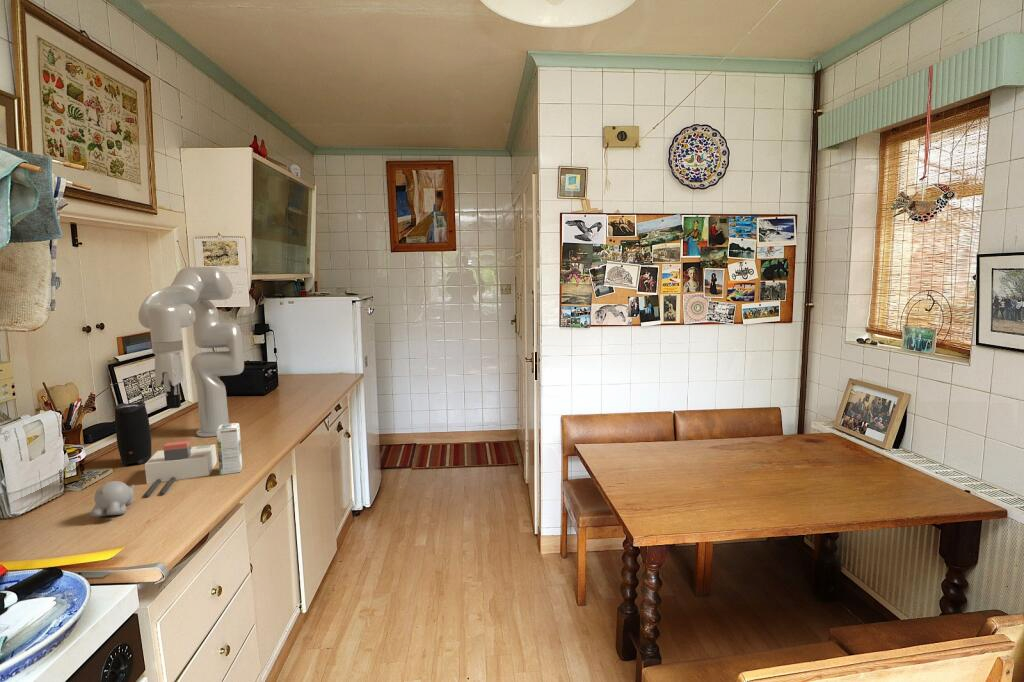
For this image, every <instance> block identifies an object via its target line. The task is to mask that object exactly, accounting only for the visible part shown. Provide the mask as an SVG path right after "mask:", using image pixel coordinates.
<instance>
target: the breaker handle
mask: <svg viewBox="0 0 1024 682" xmlns="http://www.w3.org/2000/svg"><path fill="white" fill-rule="evenodd" d="M190 442H191V441H190V440H180V441H173V442H166V443H165V444H164V445H163V447H162V448H163V450H164V457H165V460H173V459H181V458H188V457H189V456H190V455H191V451H190V447H191V445H190Z"/></svg>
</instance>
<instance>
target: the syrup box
mask: <svg viewBox="0 0 1024 682" xmlns="http://www.w3.org/2000/svg"><path fill="white" fill-rule="evenodd" d="M216 441H217V442H216V443H217V455H218V467H219V475H220V476H223V475H231V474H235V473H241V471H242V468H243V457H242V443H241V441H242V439H241V428H240V423H238V422H237V423H236V422H233V423H232V422H231V423H230V422H229V424H223V425H219V427H218V429H217V436H216Z"/></svg>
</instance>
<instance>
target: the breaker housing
mask: <svg viewBox="0 0 1024 682" xmlns="http://www.w3.org/2000/svg"><path fill="white" fill-rule="evenodd" d="M190 451H191V455H190V456H189V457H188V458H181V459H173V460H165V457H164V449H163V450H156V451H155V453H154V454H152V455H151V458H150V459H149V460H148V461H147V462H146V463H144V469H145V470H144V471H145V472H144V473H145V479H146V484H148V485H149V484H154V483H155V482H156V480H157V479H161V482H160V483H163V482H168V481H169V480H170V479H171V478H172V477H175V481H178V480H185V479H194V478H200V477H201V478H202V477H209V476H210V474H212V471H213V470H214V468H215V466H216V464H217V463H218V459H217V446H216V444H215V443H214V444H206V445H198V446H190Z"/></svg>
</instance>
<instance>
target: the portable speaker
mask: <svg viewBox="0 0 1024 682" xmlns="http://www.w3.org/2000/svg"><path fill="white" fill-rule="evenodd" d="M114 415H115V416H114V425H115V427H114V428H115V436H116V442H117V449H118V453H119V457H120V461H121V465H122V466H125V467H128V466H129V465H131V464H136V463H137V464H138V465H142V464H145V463H146V462H147V461H148V460H149V459H150V458H151V457H152V435H151V434H152V433H151V428H150V427H151V426H150V419H149V415H148V412H147V408H146V402H144V401H137V402H132V403H125V402H124V403H119V404H117V405H115V406H114Z"/></svg>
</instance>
